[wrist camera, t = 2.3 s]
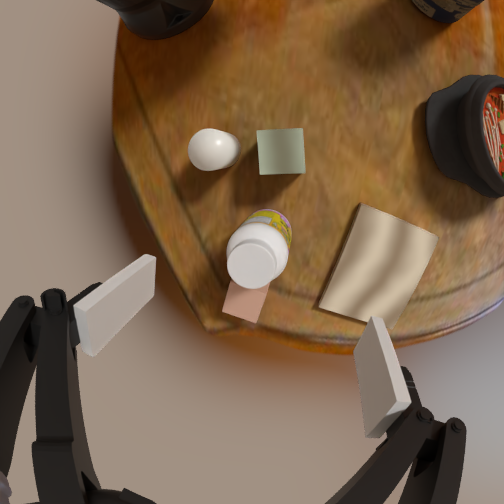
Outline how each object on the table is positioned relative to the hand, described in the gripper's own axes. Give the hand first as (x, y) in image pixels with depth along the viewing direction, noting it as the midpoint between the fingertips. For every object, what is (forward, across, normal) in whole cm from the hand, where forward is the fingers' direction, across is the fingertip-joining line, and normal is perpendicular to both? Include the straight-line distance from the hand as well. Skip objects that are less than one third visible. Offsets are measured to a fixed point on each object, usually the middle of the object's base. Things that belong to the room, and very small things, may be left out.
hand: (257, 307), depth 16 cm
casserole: (+23, +27, +22) cm, 42 cm away
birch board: (+23, +15, -4) cm, 28 cm away
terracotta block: (+23, -2, -11) cm, 26 cm away
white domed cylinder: (+23, -10, +7) cm, 26 cm away
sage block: (+23, -2, +9) cm, 25 cm away
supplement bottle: (+23, -2, -2) cm, 24 cm away
